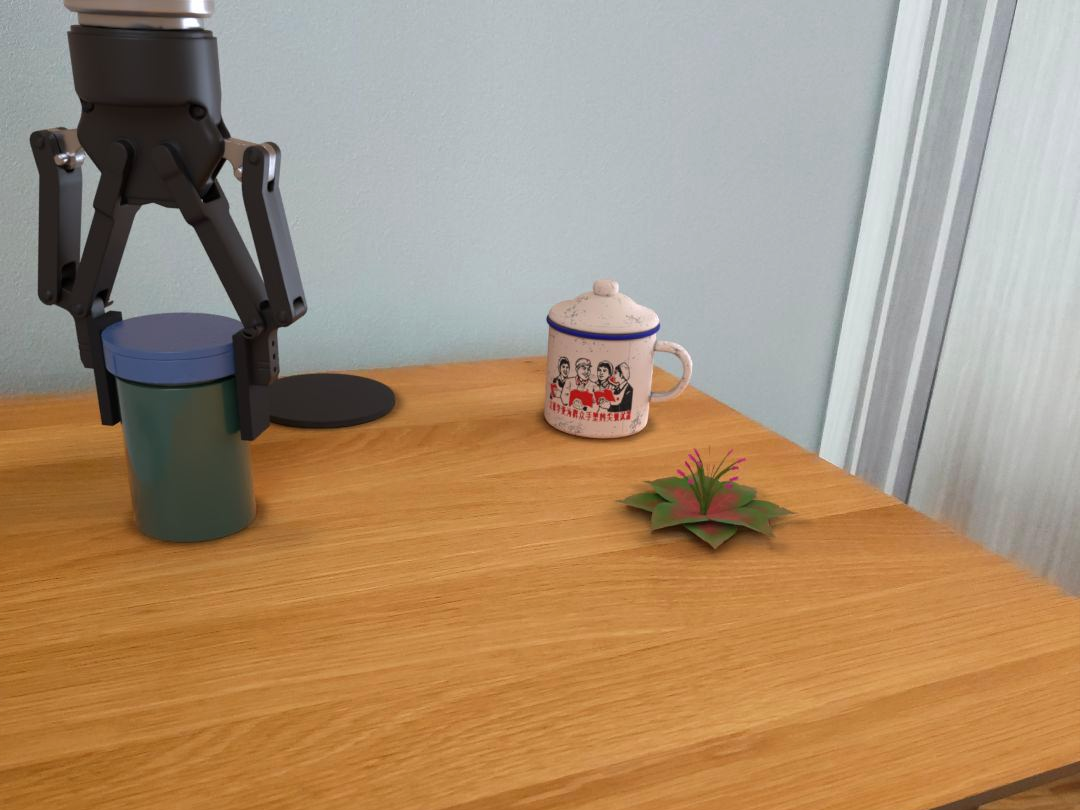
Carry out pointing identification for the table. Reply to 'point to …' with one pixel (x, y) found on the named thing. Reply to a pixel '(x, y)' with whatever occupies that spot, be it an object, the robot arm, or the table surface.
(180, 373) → the jar lid
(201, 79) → the robot arm
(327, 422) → the coaster
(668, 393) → the teacup with lid
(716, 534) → the lily flower
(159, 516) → the jar
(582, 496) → the table surface
